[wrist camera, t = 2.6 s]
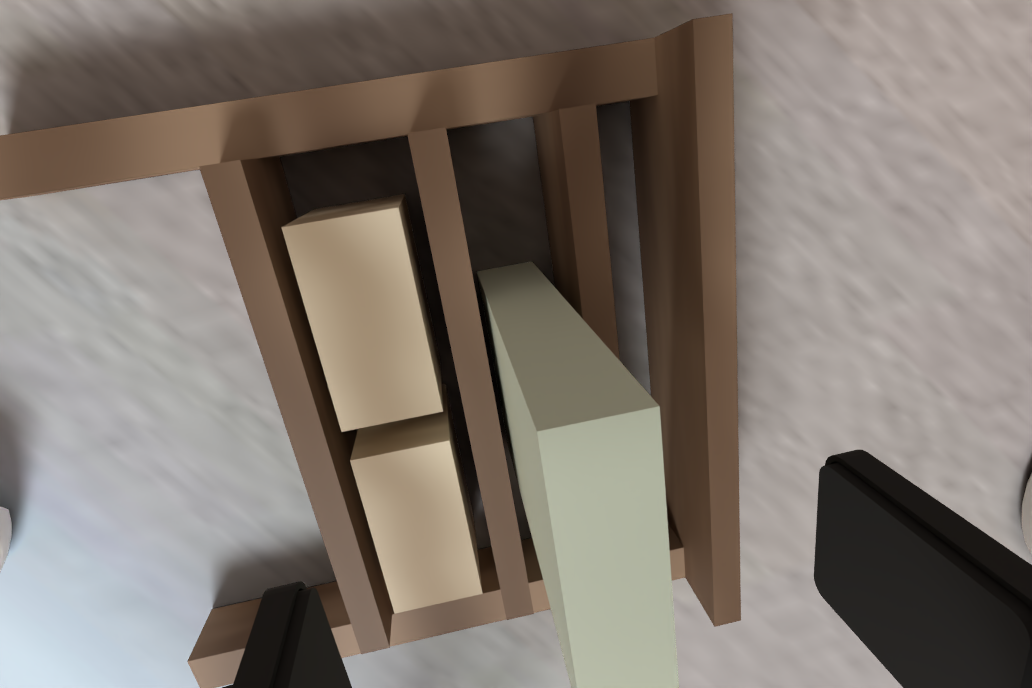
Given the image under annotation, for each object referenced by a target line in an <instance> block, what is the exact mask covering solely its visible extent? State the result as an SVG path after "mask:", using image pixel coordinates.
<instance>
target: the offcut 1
mask: <svg viewBox="0 0 1032 688" xmlns="http://www.w3.org/2000/svg"><path fill="white" fill-rule="evenodd" d="M281 228H282V231H283V234H284V238H285V241H286V245H287V248H288V251H289V255H290V258H291V262H292V265H293V268H294V272H295V275H296V279H297V282H298V286H299V289H300V292H301V296H302V299H303V303H304V306H305V309H306V313H307V316H308V320H309V323H310V326H311V330H312V333H313V337H314V340H315V343H316V347H317V350H318V354H319V357H320V360H321V364H322V367H323V371H324V374H325V377H326V381H327V384H328V388H329V391H330V394H331V398H332V401H333V405H334V408H335V411H336V415H337V418H338V422H339V425H340V428H341V432H344V431H349V430H354V429H359V428H364V427H369V426H374V425H379V424H384V423H389V422H394V421H399V420H404V419H408V418H413V417H418V416H423V415H428V414H433V413H438V412H443V402H442V383H441V365H440V356H439V351H438V347H437V342H436V337H435V332H434V328H433V323H432V318H431V314H430V309H429V304H428V300H427V295H426V290H425V286H424V281H423V276H422V272H421V267H420V262H419V257H418V253H417V248H416V243H415V239H414V234H413V229H412V225H411V220H410V215H409V211H408V206H407V201H406V197H405V194H401V195H395V196H389V197H383V198H377V199H372V200H366V201H360V202H354V203H348V204H342V205H336V206H330V207H324V208H318V209H313V210H312V211H310V212H308V213H306V214H304V215H303V216H301V217H299V218H297V219H295V220H294V221H292V222H290V223H288V224H287V225H285V226H283V227H281Z"/></svg>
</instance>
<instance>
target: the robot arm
mask: <svg viewBox="0 0 1032 688" xmlns="http://www.w3.org/2000/svg"><path fill="white" fill-rule="evenodd" d="M1021 525H1022V530H1023V535H1024V540H1025V543H1026V545H1027V547H1028V549H1029V551H1030V552H1031V554H1032V473H1031V475H1030V478H1029V480H1028V482H1027V486H1026V490H1025V494H1024V498H1023V502H1022V520H1021ZM814 580H815V584H816V587H817V589H818V591H819V593H820V594H821V596H822V597H823V598H824V599H825V601H826V602H827V603H828V604H829V605H830V606H831V607H832V608H833V610H834V611H835V612H836V613H837V614H838V615H839V616H840V617H841V618H842V620H843V621H844V622H845V623H846V624H847V625H848V626H849V627H850V629H851V630H852V631H853V632H854V633H855V634H856V635H857V636H858V637H859V639H860V640H861V641H862V642H863V643H864V644H865V645H866V646H867V648H868V649H869V650H870V651H871V652H872V653H873V654H874V655H875V656H876V658H877V659H878V660H879V661H880V662H881V663H882V664H883V665H884V667H885V668H886V669H887V670H888V671H889V672H890V673H891V674H892V675H893V677H894V678H895V679H896V680H897V681H898V682H899V683H900V684H901V686H902V687H903V688H1032V565H1031V564H1029V563H1028V562H1026V561H1025V560H1023V559H1022V558H1020V557H1019V556H1018V555H1016V554H1015V553H1013V552H1012V551H1010V550H1009V549H1007V548H1006V547H1004V546H1003V545H1002V544H1000V543H999V542H997V541H996V540H994V539H993V538H991V537H990V536H988V535H987V534H986V533H984V532H983V531H981V530H980V529H978V528H977V527H975V526H974V525H972V524H971V523H970V522H968V521H967V520H965V519H964V518H962V517H961V516H959V515H958V514H956V513H955V512H954V511H952V510H951V509H949V508H948V507H946V506H945V505H943V504H942V503H940V502H939V501H938V500H936V499H935V498H933V497H932V496H930V495H929V494H927V493H926V492H924V491H923V490H921V489H920V488H919V487H917V486H916V485H914V484H913V483H911V482H910V481H908V480H907V479H905V478H904V477H903V476H901V475H900V474H898V473H897V472H895V471H894V470H892V469H891V468H889V467H888V466H887V465H885V464H884V463H882V462H881V461H879V460H878V459H876V458H875V457H873V456H872V455H871V454H869V453H868V452H866V451H863V450H854V451H850V452H845V453H841V454H837V455H833V456H830V457H828V459H827V460H826V463H825V466H823V467H821V469H820V472H819V488H818V507H817V527H816V546H815V565H814ZM222 688H352V686H351V684H350V681H349V678H348V675H347V672H346V670H345V667H344V664H343V661H342V658H341V655H340V653H339V650H338V647H337V644H336V641H335V639H334V636H333V633H332V630H331V627H330V624H329V622H328V619H327V616H326V613H325V610H324V608H323V605H322V602H321V599H320V596H319V594H318V591H317V589H316V588H309V589H306V586H305V585H304V583H303V582H296V583H292V584H287V585H283V586H279V587H275V588H271V589H267V590H266V591H265V592H264V594H263V596H262V599H261V602H260V605H259V608H258V611H257V614H256V617H255V620H254V623H253V626H252V629H251V632H250V635H249V638H248V641H247V644H246V647H245V650H244V653H243V656H242V659H241V662H240V665H239V668H238V671H237V674H236V677H235V680H234V683H233V685H229V686H226V687H222Z"/></svg>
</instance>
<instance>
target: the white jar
mask: <svg viewBox="0 0 1032 688" xmlns="http://www.w3.org/2000/svg"><path fill="white" fill-rule="evenodd" d="M11 534H12V522H11V518H10V513H9V510H8V509H6V508H3V507H1V506H0V572H1V570H2V567H3V565H4V563H5V560H6V558H7V555H8V551H9V546H10V541H11Z"/></svg>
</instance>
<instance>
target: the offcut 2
mask: <svg viewBox="0 0 1032 688" xmlns="http://www.w3.org/2000/svg"><path fill="white" fill-rule="evenodd" d="M442 402H443V412H438V413H433V414H428V415H423V416H418V417H413V418H408V419H404V420H399V421H394V422H389V423H384V424H379V425H374V426H369V427H364V428H359V429H358V431H357V435H356V439H355V443H354V447H353V451H352V455H351V459H350V462H351V466H352V469H353V472H354V476H355V479H356V483H357V486H358V490H359V493H360V497H361V500H362V503H363V507H364V510H365V514H366V517H367V521H368V524H369V528H370V531H371V534H372V538H373V541H374V545H375V548H376V552H377V555H378V558H379V562H380V565H381V569H382V572H383V576H384V579H385V583H386V586H387V589H388V593H389V596H390V600H391V603H392V607H393V610H394V614H396V613H400V612H404V611H409V610H413V609H418V608H422V607H426V606H431V605H435V604H440V603H444V602H448V601H453V600H457V599H462V598H466V597H470V596H475V595H479V594H483V593H482V585H481V576H480V568H479V559H478V551H477V542H476V534H475V526H474V517H473V511H472V507H471V502H470V497H469V492H468V488H467V483H466V478H465V473H464V469H463V464H462V459H461V454H460V450H459V445H458V440H457V435H456V431H455V426H454V421H453V416H452V412H451V407H450V402H449V397H448V393H447V388H446V384H442Z"/></svg>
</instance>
